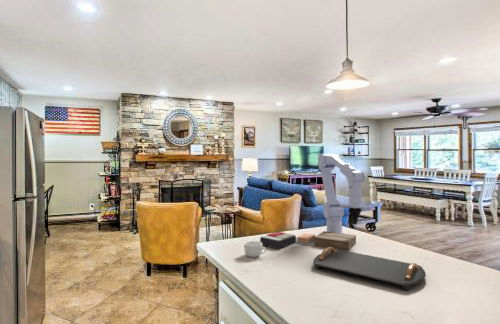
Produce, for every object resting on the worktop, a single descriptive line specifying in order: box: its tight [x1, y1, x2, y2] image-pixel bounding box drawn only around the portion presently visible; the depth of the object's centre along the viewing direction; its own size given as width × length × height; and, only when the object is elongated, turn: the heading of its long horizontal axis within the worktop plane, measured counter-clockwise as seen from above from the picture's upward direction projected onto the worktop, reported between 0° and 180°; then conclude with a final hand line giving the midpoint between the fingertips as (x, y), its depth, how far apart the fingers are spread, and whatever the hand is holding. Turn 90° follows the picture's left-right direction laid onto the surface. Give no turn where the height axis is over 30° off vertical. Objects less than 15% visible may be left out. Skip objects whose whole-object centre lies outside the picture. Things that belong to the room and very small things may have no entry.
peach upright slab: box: [297, 232, 316, 243], centre depth 162 cm, size 9×6×2 cm, turn 149°
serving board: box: [312, 247, 427, 292], centre depth 120 cm, size 39×23×6 cm, turn 52°
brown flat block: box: [313, 230, 357, 252], centre depth 155 cm, size 14×16×4 cm
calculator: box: [259, 231, 297, 250], centre depth 156 cm, size 11×4×15 cm
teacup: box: [243, 240, 267, 258], centre depth 138 cm, size 10×8×5 cm
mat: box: [293, 234, 314, 247], centre depth 163 cm, size 16×12×1 cm
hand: (355, 224), depth 155 cm, fingers closed
